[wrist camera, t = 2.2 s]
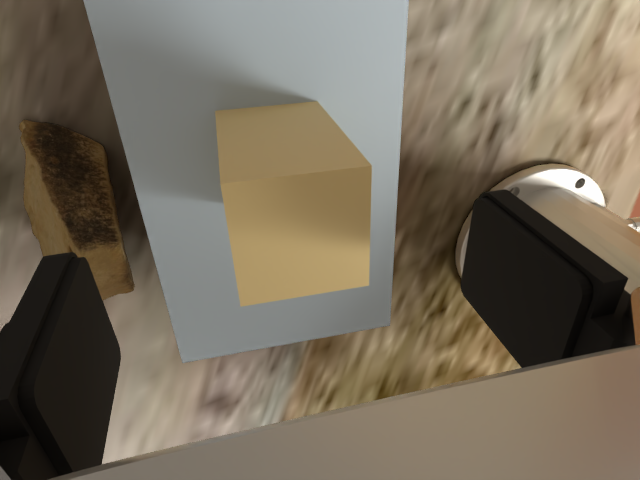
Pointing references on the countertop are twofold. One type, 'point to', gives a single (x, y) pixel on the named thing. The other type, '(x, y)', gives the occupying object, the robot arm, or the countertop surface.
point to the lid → (261, 160)
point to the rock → (74, 202)
